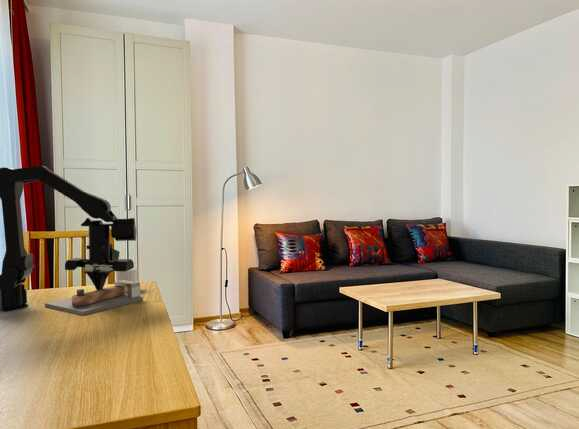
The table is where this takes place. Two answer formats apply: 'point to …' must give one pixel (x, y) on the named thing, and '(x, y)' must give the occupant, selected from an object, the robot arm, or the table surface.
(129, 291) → the keeper
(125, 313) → the table surface
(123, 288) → the link
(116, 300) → the board
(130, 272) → the white pedestal piece
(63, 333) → the table surface
